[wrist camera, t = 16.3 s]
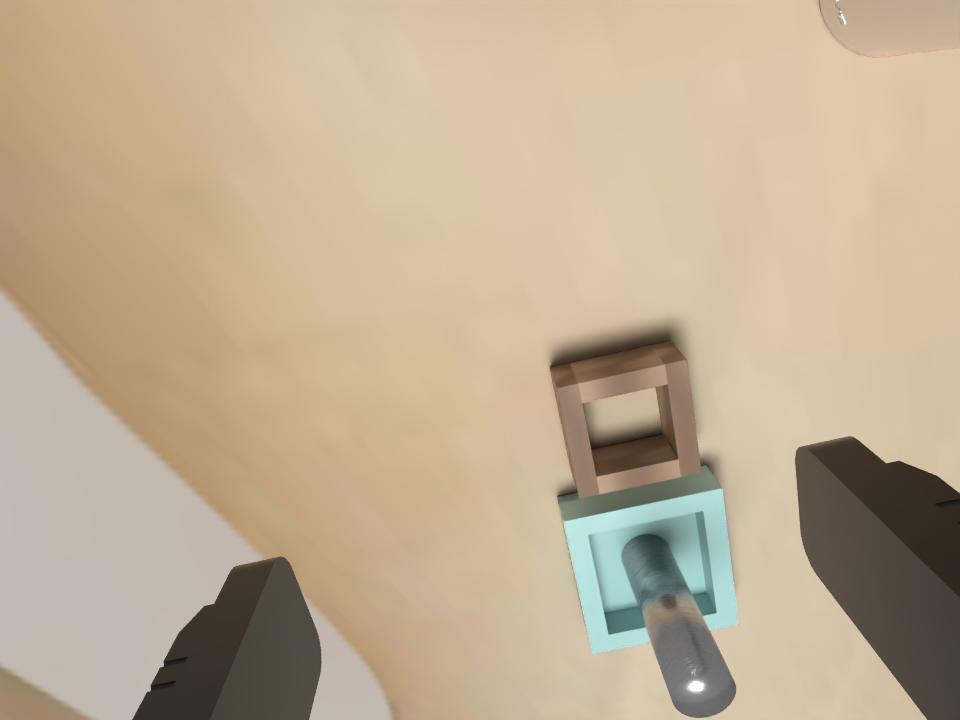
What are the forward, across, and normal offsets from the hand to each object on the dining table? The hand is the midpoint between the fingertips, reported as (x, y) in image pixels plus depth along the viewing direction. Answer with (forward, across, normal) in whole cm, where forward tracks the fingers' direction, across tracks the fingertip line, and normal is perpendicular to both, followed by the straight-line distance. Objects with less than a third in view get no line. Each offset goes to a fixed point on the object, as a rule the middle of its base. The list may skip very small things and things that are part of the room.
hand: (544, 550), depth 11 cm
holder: (+38, -7, +17) cm, 42 cm away
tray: (+38, -7, +30) cm, 49 cm away
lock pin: (+37, -7, +30) cm, 48 cm away
